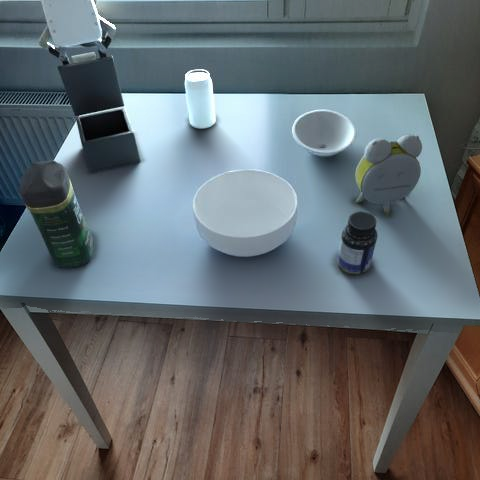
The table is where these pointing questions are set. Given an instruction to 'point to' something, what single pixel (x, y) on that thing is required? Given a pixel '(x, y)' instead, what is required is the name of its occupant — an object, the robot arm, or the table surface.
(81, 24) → the robot arm
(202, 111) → the can
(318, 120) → the dish
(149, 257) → the table surface
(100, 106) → the lid
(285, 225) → the bowl
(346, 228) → the pill bottle
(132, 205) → the table surface
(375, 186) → the alarm clock
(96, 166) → the open grey storage bin
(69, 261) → the coffee jar
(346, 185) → the table surface
